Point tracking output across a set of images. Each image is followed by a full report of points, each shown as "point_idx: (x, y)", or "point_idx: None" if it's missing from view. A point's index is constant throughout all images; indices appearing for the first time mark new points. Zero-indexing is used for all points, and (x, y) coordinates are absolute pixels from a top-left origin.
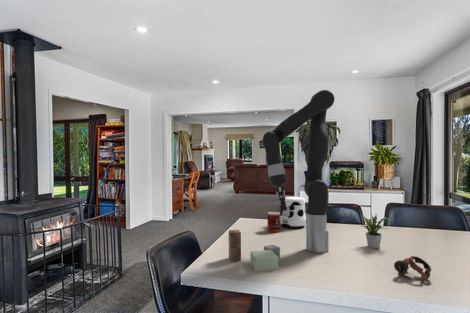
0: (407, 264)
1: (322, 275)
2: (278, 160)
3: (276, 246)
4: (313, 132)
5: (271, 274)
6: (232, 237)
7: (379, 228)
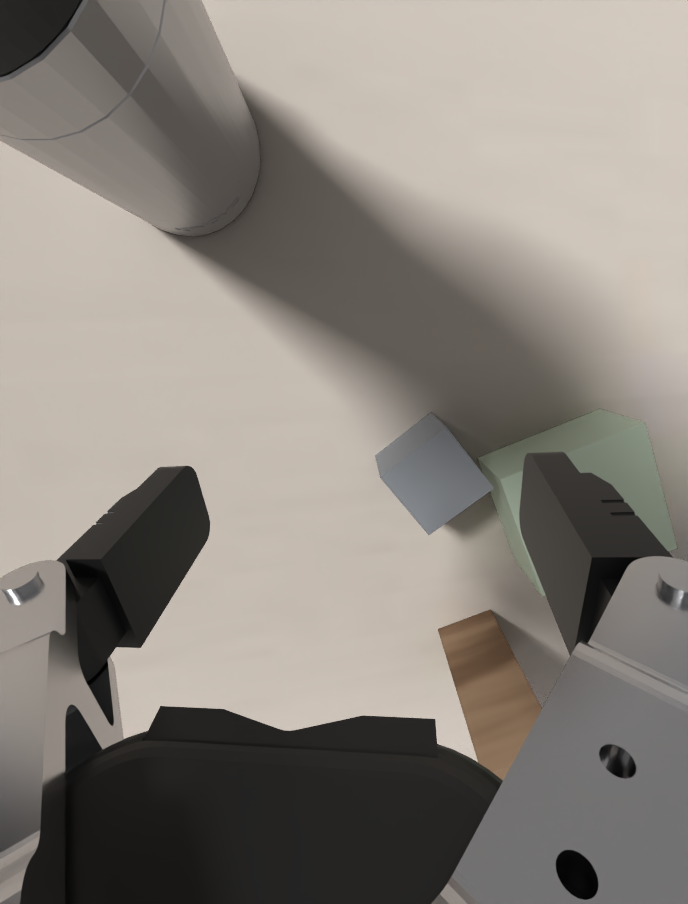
0: None
1: (677, 138)
2: None
3: (422, 452)
4: None
5: (670, 437)
6: None
7: None
